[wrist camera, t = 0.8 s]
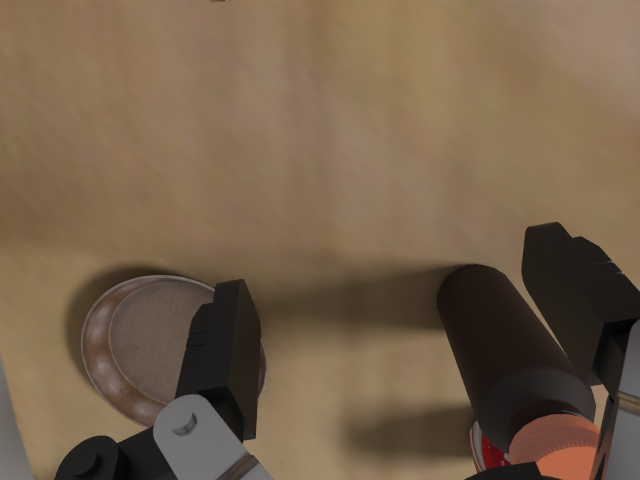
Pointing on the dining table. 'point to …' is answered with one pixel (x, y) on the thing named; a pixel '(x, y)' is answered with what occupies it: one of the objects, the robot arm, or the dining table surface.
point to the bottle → (518, 375)
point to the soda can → (485, 451)
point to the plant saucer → (144, 343)
